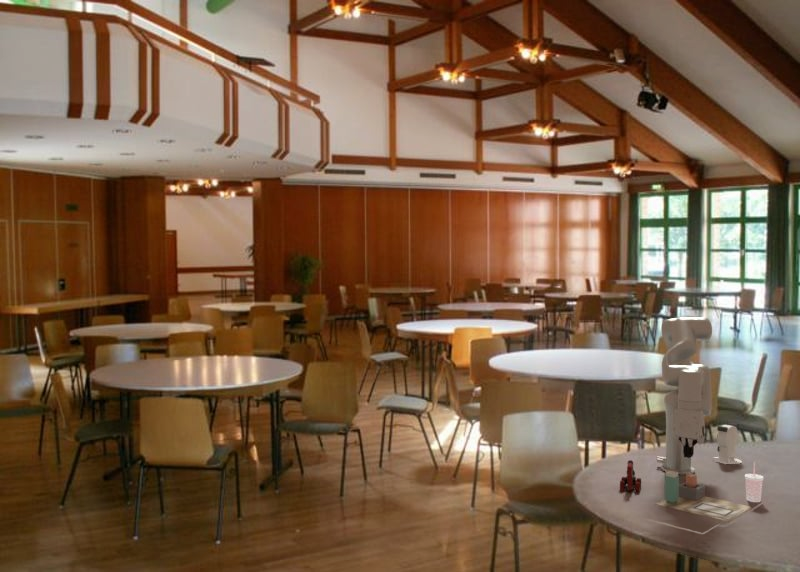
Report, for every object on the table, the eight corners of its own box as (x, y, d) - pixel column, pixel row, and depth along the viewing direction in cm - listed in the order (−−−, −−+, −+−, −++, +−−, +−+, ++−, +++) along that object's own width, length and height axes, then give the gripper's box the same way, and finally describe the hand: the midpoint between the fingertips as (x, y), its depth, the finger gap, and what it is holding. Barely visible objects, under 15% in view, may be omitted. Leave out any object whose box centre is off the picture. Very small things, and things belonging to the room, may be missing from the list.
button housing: (677, 496, 286) (677, 485, 286) (685, 492, 291) (686, 481, 291) (696, 501, 281) (696, 489, 281) (705, 496, 286) (705, 485, 286)
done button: (683, 489, 286) (684, 475, 286) (688, 487, 289) (688, 473, 288) (693, 491, 284) (694, 477, 283) (698, 489, 286) (698, 475, 286)
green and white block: (664, 502, 280) (665, 472, 279) (669, 500, 282) (669, 470, 282) (673, 505, 277) (674, 474, 277) (678, 502, 280) (679, 472, 279)
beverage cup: (754, 505, 279) (755, 465, 278) (740, 500, 284) (740, 460, 284) (767, 502, 282) (768, 462, 281) (751, 497, 287) (752, 458, 286)
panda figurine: (720, 455, 344) (721, 420, 343) (747, 461, 335) (748, 425, 335) (707, 460, 336) (708, 424, 335) (734, 466, 327) (735, 429, 326)
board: (654, 505, 279) (654, 503, 279) (681, 492, 293) (681, 490, 293) (727, 523, 261) (727, 520, 261) (751, 508, 276) (751, 506, 276)
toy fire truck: (641, 486, 301) (642, 458, 300) (639, 496, 289) (639, 467, 288) (622, 484, 303) (622, 457, 302) (619, 494, 291) (619, 465, 291)
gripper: (664, 403, 286) (663, 454, 287) (705, 409, 275) (704, 463, 277) (674, 400, 291) (673, 450, 292) (715, 406, 281) (713, 459, 282)
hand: (688, 456), depth 284 cm, fingers closed
